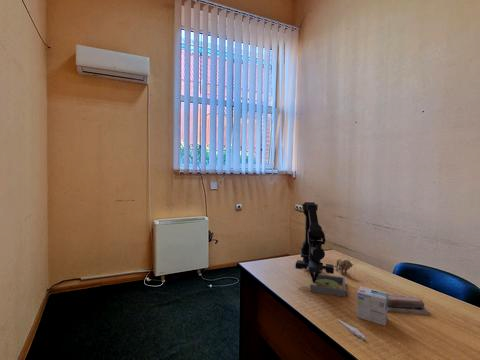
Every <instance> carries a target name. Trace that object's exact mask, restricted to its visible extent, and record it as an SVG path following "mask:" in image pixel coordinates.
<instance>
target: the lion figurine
mask: <svg viewBox="0 0 480 360" xmlns="http://www.w3.org/2000/svg"><path fill="white" fill-rule="evenodd" d="M353 265H354V264H353V263H352V262H351V260H349V259H345V260H342V259H341V258H338V259H337V260H336V265H333V266H334V268H335V271H336V272H338V271H339V270H340V271H341V273H340V275H341V276H344V275H348V273H347V271H348V270H350V269H351V268H352V267H353Z"/></svg>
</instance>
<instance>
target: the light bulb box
mask: <svg viewBox="0 0 480 360" xmlns="http://www.w3.org/2000/svg"><path fill="white" fill-rule="evenodd" d="M387 310H388V292H385V291H383V290H382V291H381V290H377V289H373V288H368V287H364V286H359V288H358V289H357V292H356V316H355V317H356V318H359V319H361V320H365V321H368V322H372V323H375V324H378V325H382V326H386V324H387V321H388V311H387Z"/></svg>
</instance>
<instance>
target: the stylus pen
mask: <svg viewBox="0 0 480 360" xmlns="http://www.w3.org/2000/svg"><path fill="white" fill-rule="evenodd" d="M336 321H338V322H339V323H340V324H341V325H342V326H344V328H346V329H347V330H348V331H349V332H350V333H351V334H352V335H354V336H356V337H357V338H359V339H361V340H362V341H364V340H365V339H367V337H366V336H365V335H364V334H363V333H361V331H360V330H359V329H358V328H357V327H353V326H351V325H350V324H348V323H346V322H344V321H342V320H340V319H339V318H336ZM365 341H366V340H365Z"/></svg>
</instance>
